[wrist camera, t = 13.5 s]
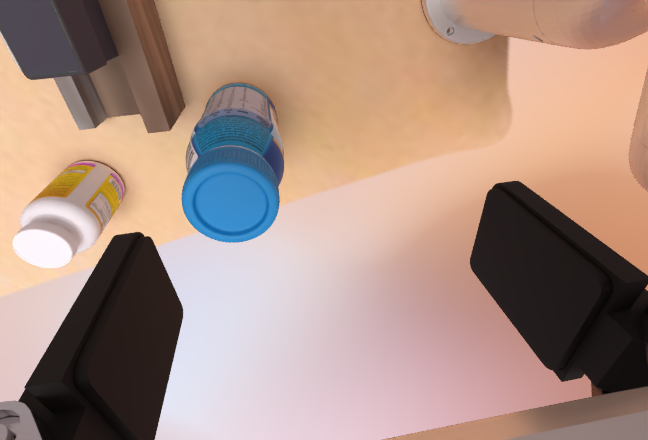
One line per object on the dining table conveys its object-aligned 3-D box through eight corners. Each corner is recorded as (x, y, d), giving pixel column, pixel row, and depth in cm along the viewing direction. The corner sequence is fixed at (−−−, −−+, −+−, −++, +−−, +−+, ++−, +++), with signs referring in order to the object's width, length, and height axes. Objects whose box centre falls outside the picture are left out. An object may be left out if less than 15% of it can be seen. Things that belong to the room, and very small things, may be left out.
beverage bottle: (245, 63, 36) (235, 123, 20) (292, 124, 41) (314, 212, 25) (188, 110, 38) (137, 200, 22) (239, 164, 43) (228, 270, 26)
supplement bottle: (54, 186, 41) (-16, 254, 30) (80, 147, 38) (14, 206, 28) (110, 215, 44) (64, 285, 33) (137, 180, 42) (97, 244, 31)
